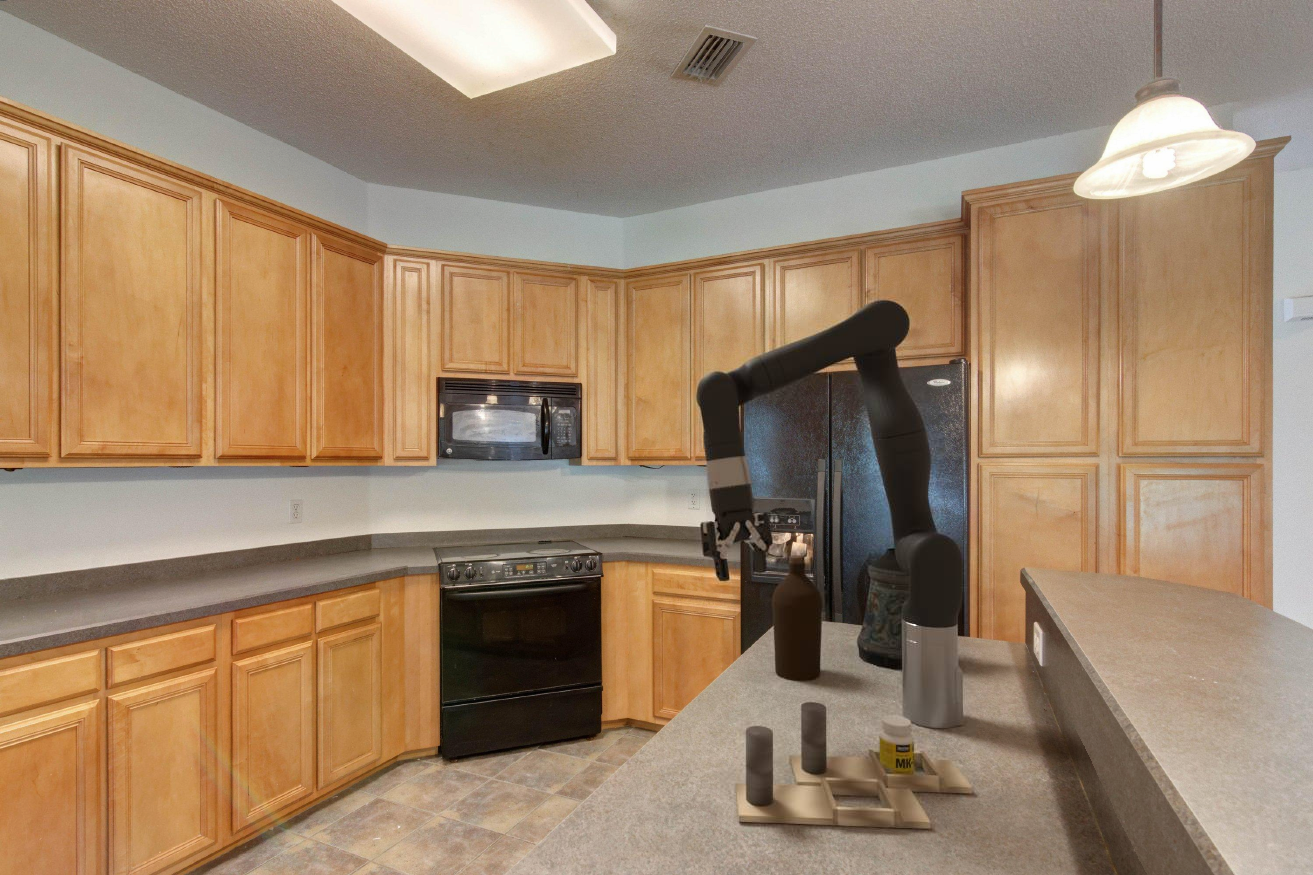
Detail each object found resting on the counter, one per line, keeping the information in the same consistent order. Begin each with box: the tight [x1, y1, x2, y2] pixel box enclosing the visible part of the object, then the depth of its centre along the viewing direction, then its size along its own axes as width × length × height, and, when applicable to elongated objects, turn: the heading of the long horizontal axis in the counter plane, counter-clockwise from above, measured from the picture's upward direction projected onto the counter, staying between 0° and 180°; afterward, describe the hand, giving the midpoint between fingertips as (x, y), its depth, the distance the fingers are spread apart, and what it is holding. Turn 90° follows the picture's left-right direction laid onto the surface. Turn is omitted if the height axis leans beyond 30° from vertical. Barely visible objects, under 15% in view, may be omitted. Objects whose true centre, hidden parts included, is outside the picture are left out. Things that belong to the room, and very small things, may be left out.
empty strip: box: [734, 725, 932, 829], centre depth 86 cm, size 24×8×10 cm, turn 86°
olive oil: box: [771, 554, 824, 682], centre depth 139 cm, size 11×11×25 cm
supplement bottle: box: [878, 714, 915, 775], centre depth 95 cm, size 5×5×8 cm
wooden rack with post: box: [789, 701, 973, 794], centre depth 95 cm, size 24×8×10 cm, turn 86°
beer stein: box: [856, 547, 909, 671], centre depth 150 cm, size 16×19×25 cm
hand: (743, 576), depth 114 cm, fingers open, 8 cm apart
